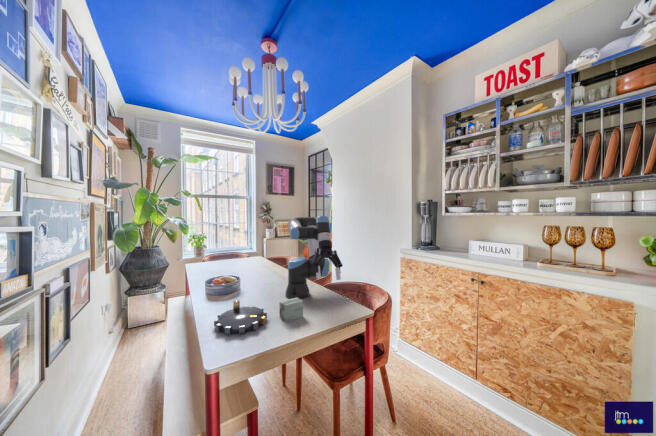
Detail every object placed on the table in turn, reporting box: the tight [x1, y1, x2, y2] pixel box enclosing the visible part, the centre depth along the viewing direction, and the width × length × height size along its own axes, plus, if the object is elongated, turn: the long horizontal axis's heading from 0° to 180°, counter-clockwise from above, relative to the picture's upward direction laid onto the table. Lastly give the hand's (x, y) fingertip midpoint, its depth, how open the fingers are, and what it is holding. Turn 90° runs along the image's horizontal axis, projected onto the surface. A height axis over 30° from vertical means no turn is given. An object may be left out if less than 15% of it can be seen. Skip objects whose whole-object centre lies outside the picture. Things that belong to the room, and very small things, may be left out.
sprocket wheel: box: [213, 299, 268, 335], centre depth 107 cm, size 23×23×7 cm
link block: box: [279, 298, 304, 323], centre depth 113 cm, size 6×10×8 cm, turn 127°
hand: (329, 279), depth 120 cm, fingers open, 13 cm apart
